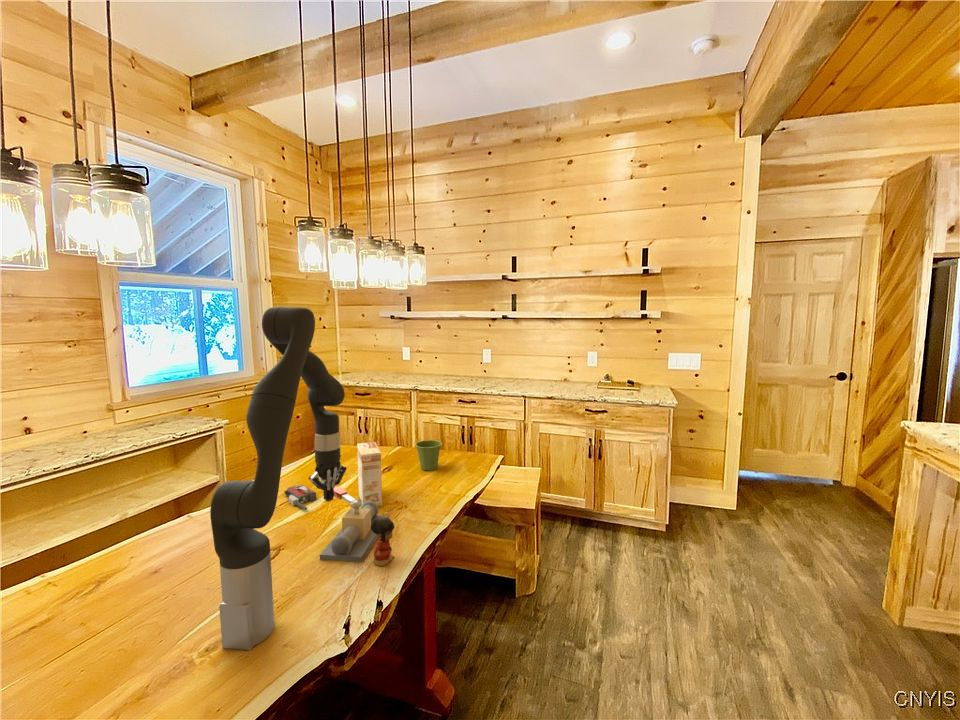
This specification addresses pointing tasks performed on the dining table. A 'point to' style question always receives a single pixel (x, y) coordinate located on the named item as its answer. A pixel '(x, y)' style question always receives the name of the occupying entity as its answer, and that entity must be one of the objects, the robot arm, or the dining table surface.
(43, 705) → the dining table surface
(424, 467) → the plant pot
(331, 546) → the valve stand
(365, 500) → the coffeecake box
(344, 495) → the lever
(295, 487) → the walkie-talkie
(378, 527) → the figurine
